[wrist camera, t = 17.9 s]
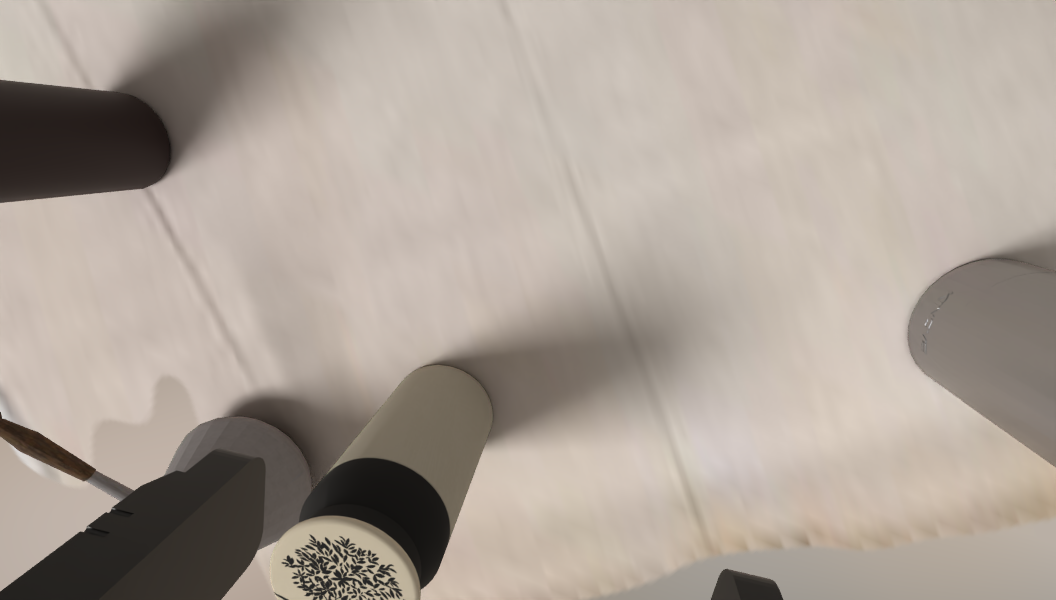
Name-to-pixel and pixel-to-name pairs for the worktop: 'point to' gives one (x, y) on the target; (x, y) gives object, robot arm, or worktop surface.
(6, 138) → the bottle
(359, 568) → the travel mug
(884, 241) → the worktop surface
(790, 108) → the worktop surface
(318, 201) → the worktop surface
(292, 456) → the coffee pot
